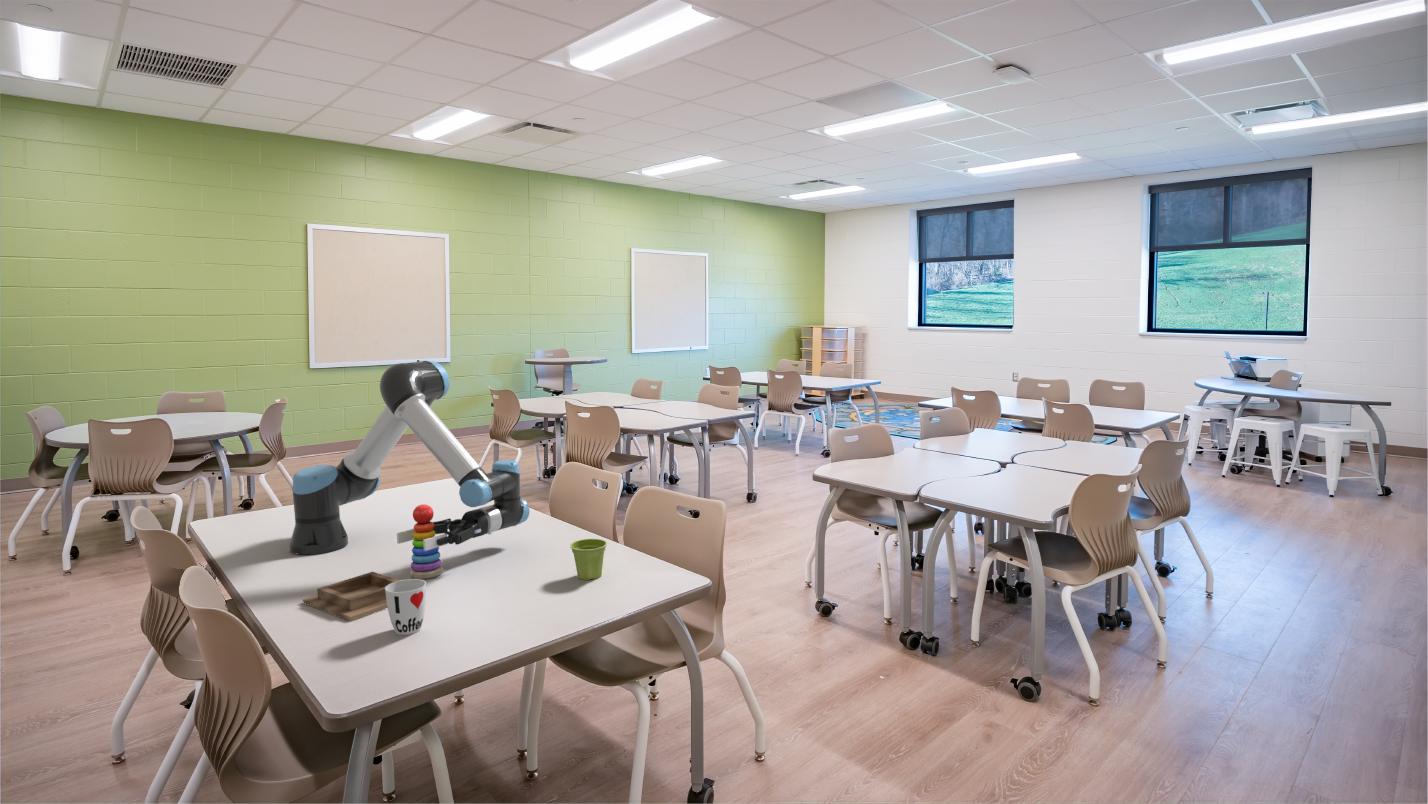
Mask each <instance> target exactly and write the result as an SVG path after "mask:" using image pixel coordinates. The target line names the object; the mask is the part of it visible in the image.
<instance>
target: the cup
mask: <svg viewBox="0 0 1428 804" xmlns="http://www.w3.org/2000/svg"><path fill="white" fill-rule="evenodd" d="M385 592H386V600H387V611H388V616H389V619H390V623H391V626H392V628H393V631H394V633H395V634H396V635H398V636H410V635H413V634H416V633H418V632H420V631H421V629H422V625H423V622H424V618H425V611H426V603H427V582H426V580H425V579H416V578H408V579H401V581H396V582H393V583H391V584H389V585H387V586H386V587H385Z"/></svg>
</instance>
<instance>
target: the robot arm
mask: <svg viewBox="0 0 1428 804" xmlns="http://www.w3.org/2000/svg"><path fill="white" fill-rule="evenodd" d="M450 383H451V382H450V377H449V374H448V371H447V370H446V369H445V367H443V366H442V364H440V363H438V362H435V361H433V360H431V361H430V360H422V361H414V362H413V361H412V362H401V363H400V362H399V363H395V364H394V365H391V366H389V367H388V368H387V369H386V370H385V371H384V372H383V374H382V376H381V378H380V382H379V392H380V395H381V398H382V399H383V402H384V403H385V405H386V406H385V407H384V409H383V410H382V412H381V413H380V414H379V416H378V417H377V419H376V420H375V422H374V423H373V425H372V426H371V428H370V429H369V430H368V432H367V433H366V435H365V436H364V437H363V439H362V440H361V442H359V445H358V446H357V447H356V449H354V451H350V452H347V453H346V454H345V455H344V456H343V458H342V459H341V460H340V463H339V464H338V465H336V466H334V465H332V464H331V465H330V464H320V465H316V466H310V467H307V468H303V469H301V470H298V471H297V472H295V473H294V475H293V476H292V486H291V487H292V488H291V490H292V497H293V498H292V499H293V509H294V511H293V512H294V523H295V524H294V528H293V531H292V535H291V538H290V541H289V542H290V543H289V551H290V552H291V553H292V552H293V553H292V554H294V553H298V554H297V555H302V554H308V555H318V553H320V554H325V553H330V552H333V551H337V550H341V549H343V548H345V547H347V545H349V537H348V536H349V535H348V534H347V531H346V530H345V527H344V524H343V523H342V519H341V517H340V516H341V515H340V513H341V512H340V507H341V506H343V505H347V504H349V503H352V502H353V503H354V502H356V501H359V500H360V501H361V500H364V499H366V498H367V497H369V496H371V495H372V494H374V493H375V492H376V491H377V489H378V488H379V486H380V484H381V479H380V477H381V473H382V470H381V469H382V468H381V466H382V464H383V463H384V461H385V460H386V458H387V457H388V456H389V455H390V453H391V452H392V450H393V449H394V448H395V446H396V445H397V443H398V442H399V440H401V438H402V436H403V435H404V434H405V432H406V431H407V429H408V428H410V430H411V431H412V432H413V433H414V434H415V435H416V437H417V438H418V439H419V440H420V442H422V444H423V445H424V447H425V448H427V450H428V451H429V452H430V454H432V456H433V457H434V458H435V459H436V461H438V463H439V464H440V465H441V466H442V467H443V468H444V469H445V471H446V472H447V473H448V475H450V477H451V478H452V479H453V480H454V481H455V483H456V484H457V485H458V486H459V491H458V495H459V497H460V501H461V502H462V503H463V504H464V505H465V506H467V507H470V508H475V509H472V510H468V511H466V512H465V513H463V515H462V517H461V519H460V518H456V519H453V520H452V518H446V519H443V520H438V521H432V522H433V523H434V528H433V529H432V530H434V531H435V536H434V537H432V538H428V539H425V540H423V545H424V550H425V551H427V550H430V549H433V548H437V547H439V548H440V547H443V546H447V545H454V544H455V545H457V546H458V545H461V544H462V543H465V542H467V541H469V540H471V539H475V538H479V537H482V536H484V535H487V534H488V535H492V533H494V532H497V531H500V530H504V529H507V528H511V527H517V525H520V524H522V523H525V522H526V521H527V520H528V518H529V516H530V511H531V510H530V507H529V506H528V502H527V500H525V499H524V498H523V497H522V498H521V477H520V476H521V473H520V465H519V462H518V461H516V460H513V459H504V460H503V459H502V460H497V461H495V462H493V464H492V466H491V467H492V468H491V472H488V473H487V472H485V470H484V469H482V466H480V465H479V463H478V462H477V461H476V460H475V459H474V457H472V455H471V454H470V453H469V452H468V451H467V449H466V448H465V447H464V446H463V444H462V443H461V442H460V441H459V440H458V438H457V437H456V436H455V435H454V434H453V433H452V432H451V431H450V429H449V428H448V426H446V425H445V423H444V422H443V421H442V420H441V418H440V417H439V416H438V415H437V414H436V412H434V410H433V409H432V408H431V405H432V404H433V402H435V400H440V399H441V398H443V397H445V396H446V395H447V393H448V392H449V389H450ZM492 501H493V504H490V505H487V506H484V505H486V504H488V503H490V502H492ZM480 506H482V507H480ZM477 507H479V508H477ZM476 508H477V509H476ZM414 532H415V530H414V528H411V529H407V530H403V531H400V532H396V543H397V544H403V543H407V542H411V541H413V540H414V538H413V533H414Z"/></svg>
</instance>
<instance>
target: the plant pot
mask: <svg viewBox="0 0 1428 804" xmlns="http://www.w3.org/2000/svg"><path fill="white" fill-rule="evenodd" d="M607 545H608V542H607V541H606V540H604V539H600V538H584V539H579V540H574V541H573V542H571V543H570V544H569V547H570V549H571V551H572V554H573V558H574V563H575V567H576V569H575V570H576V573H577V574H576V575H577V578H578V579H580V580H584V581H591V579H594V580H596V579H599V578H601V577H602V574H603V565H604V556H605V555H604V554H605V551H606V547H607Z"/></svg>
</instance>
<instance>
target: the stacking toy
mask: <svg viewBox="0 0 1428 804" xmlns="http://www.w3.org/2000/svg"><path fill="white" fill-rule="evenodd" d="M434 514H435V513H434V510H433V508H432V507H431V506H430V505H428V504H425V503H424V504H419V505H417V506H416V507H415V508H414V510H413V511H412V517H413V518H412V519H413V520H414V522H415V523H414V525H413V529H414V530H415V532H414V533H413V538H414V540H412V542H411V543H412V546H413V547H412V549H411V552H412V556H411V561H412V562H411V563H410V568H411V570H410V576H411V577H412V579H420V580H427V579H432V578H437V577H438V576H440V575H441V574H442V573H443V571H444V568H443V566H442V560H441V559H440V557H441V553H440V551H439V549H440V547H437V548H433V549H430V550H427V551H425V550H424V545H423V540H425V539H428V538H432V537H435V536H436V534H435V531H434V530H432V529H433V528H434V523H433V522H434V521H432V520H433V518H434Z"/></svg>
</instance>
